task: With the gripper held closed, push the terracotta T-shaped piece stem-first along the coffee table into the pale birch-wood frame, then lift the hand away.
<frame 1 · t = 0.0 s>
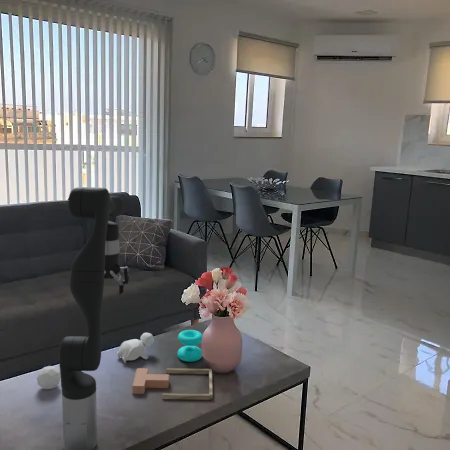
hand: (109, 293, 178), 29 cm above the table, tool pointing down, fingers open, 8 cm apart
white animal figure: (136, 357, 193), on the table
geometric ball: (49, 388, 169), on the table
t piece: (151, 384, 173), on the table
donuts: (189, 357, 195), on the table
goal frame: (188, 385, 174), on the table
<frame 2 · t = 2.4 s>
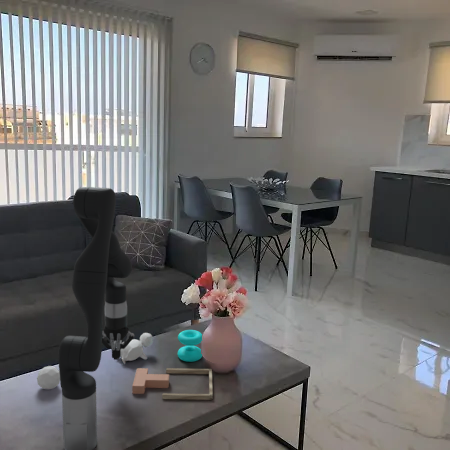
hand: (116, 358, 171), 10 cm above the table, tool pointing down, fingers closed
nothing on the table moved.
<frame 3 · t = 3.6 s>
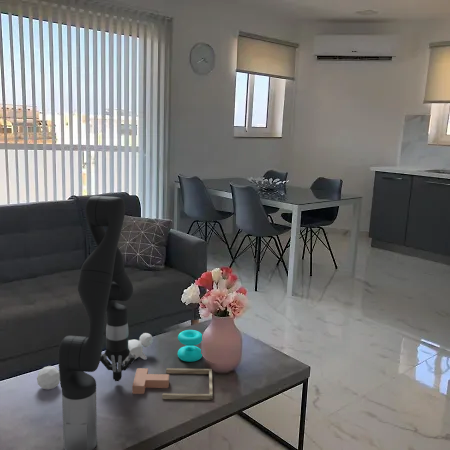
hand: (117, 380, 172), 2 cm above the table, tool pointing down, fingers closed
nothing on the table moved.
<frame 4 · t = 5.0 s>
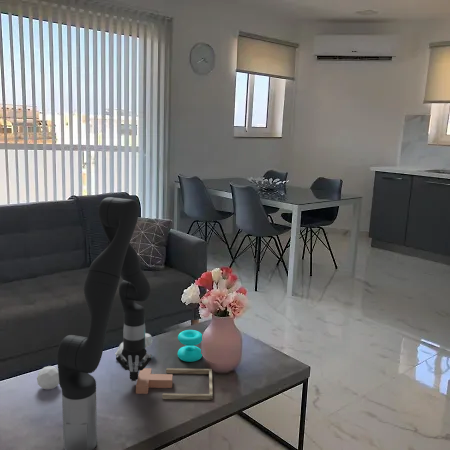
hand: (134, 379, 173), 2 cm above the table, tool pointing down, fingers closed
t piece: (155, 384, 173), on the table, touching gripper
everything else where it was.
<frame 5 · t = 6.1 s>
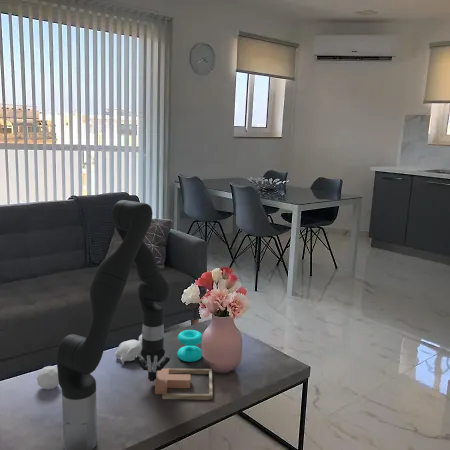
hand: (152, 380, 173), 2 cm above the table, tool pointing down, fingers closed
t piece: (173, 384, 174), on the table, touching gripper
everything else where it was.
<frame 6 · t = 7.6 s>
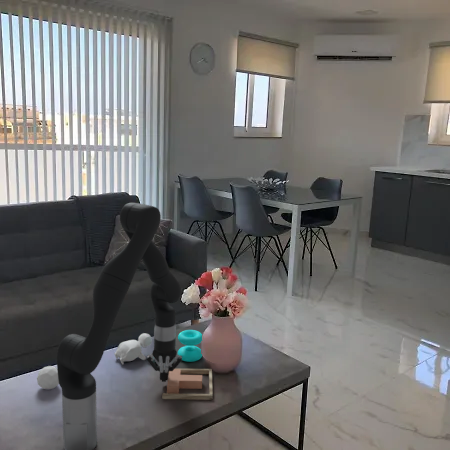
hand: (164, 380, 173), 2 cm above the table, tool pointing down, fingers closed
t piece: (185, 385, 174), on the table, touching gripper
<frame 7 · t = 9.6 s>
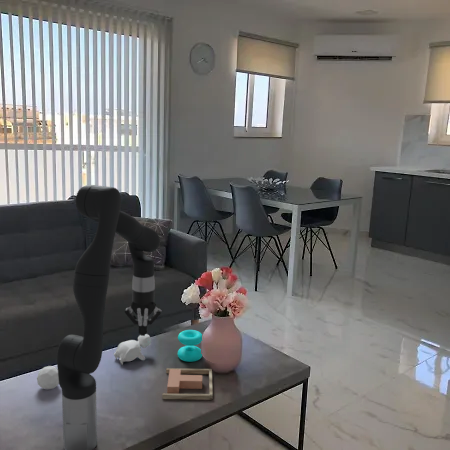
hand: (143, 334, 169), 19 cm above the table, tool pointing down, fingers closed
t piece: (185, 385, 174), on the table
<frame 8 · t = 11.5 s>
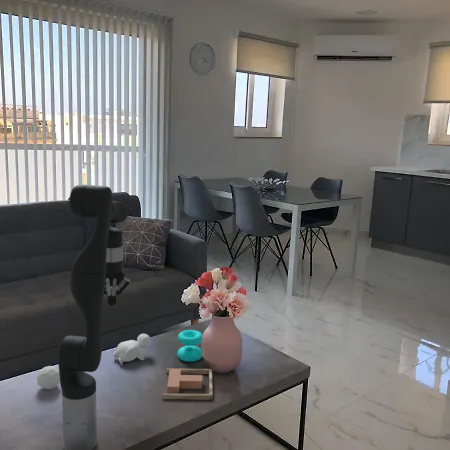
hand: (112, 304, 174), 27 cm above the table, tool pointing down, fingers closed
at the end: t piece inside the target area (0.8 cm from its centre), on the table; t piece tilted 0° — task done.
